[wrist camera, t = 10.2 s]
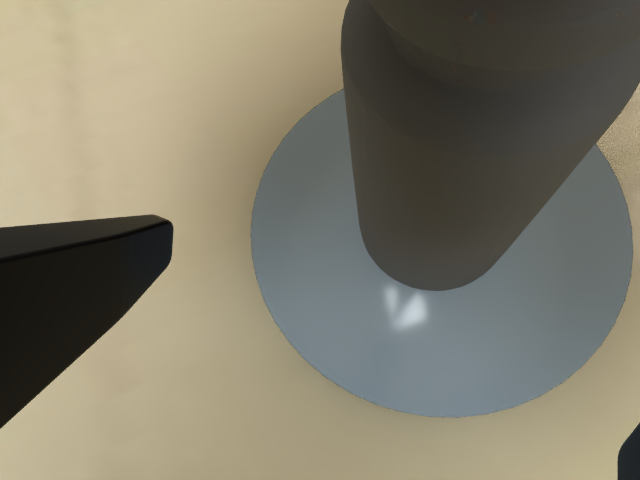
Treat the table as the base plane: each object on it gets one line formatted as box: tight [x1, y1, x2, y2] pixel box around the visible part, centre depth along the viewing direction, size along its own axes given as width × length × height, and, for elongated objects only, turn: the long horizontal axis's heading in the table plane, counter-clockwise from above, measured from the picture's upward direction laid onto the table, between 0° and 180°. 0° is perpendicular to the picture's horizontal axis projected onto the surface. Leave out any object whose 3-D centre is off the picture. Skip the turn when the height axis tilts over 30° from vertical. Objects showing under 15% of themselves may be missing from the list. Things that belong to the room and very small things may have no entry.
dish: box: [251, 89, 633, 417], centre depth 20 cm, size 15×15×2 cm
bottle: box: [341, 0, 640, 291], centre depth 12 cm, size 6×6×15 cm
